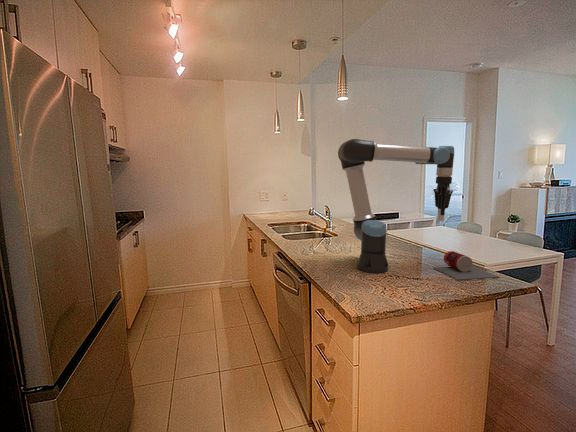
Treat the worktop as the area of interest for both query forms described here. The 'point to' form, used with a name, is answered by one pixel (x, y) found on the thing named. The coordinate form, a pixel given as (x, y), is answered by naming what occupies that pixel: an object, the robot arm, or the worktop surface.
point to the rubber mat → (465, 273)
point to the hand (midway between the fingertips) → (440, 220)
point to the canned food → (458, 261)
